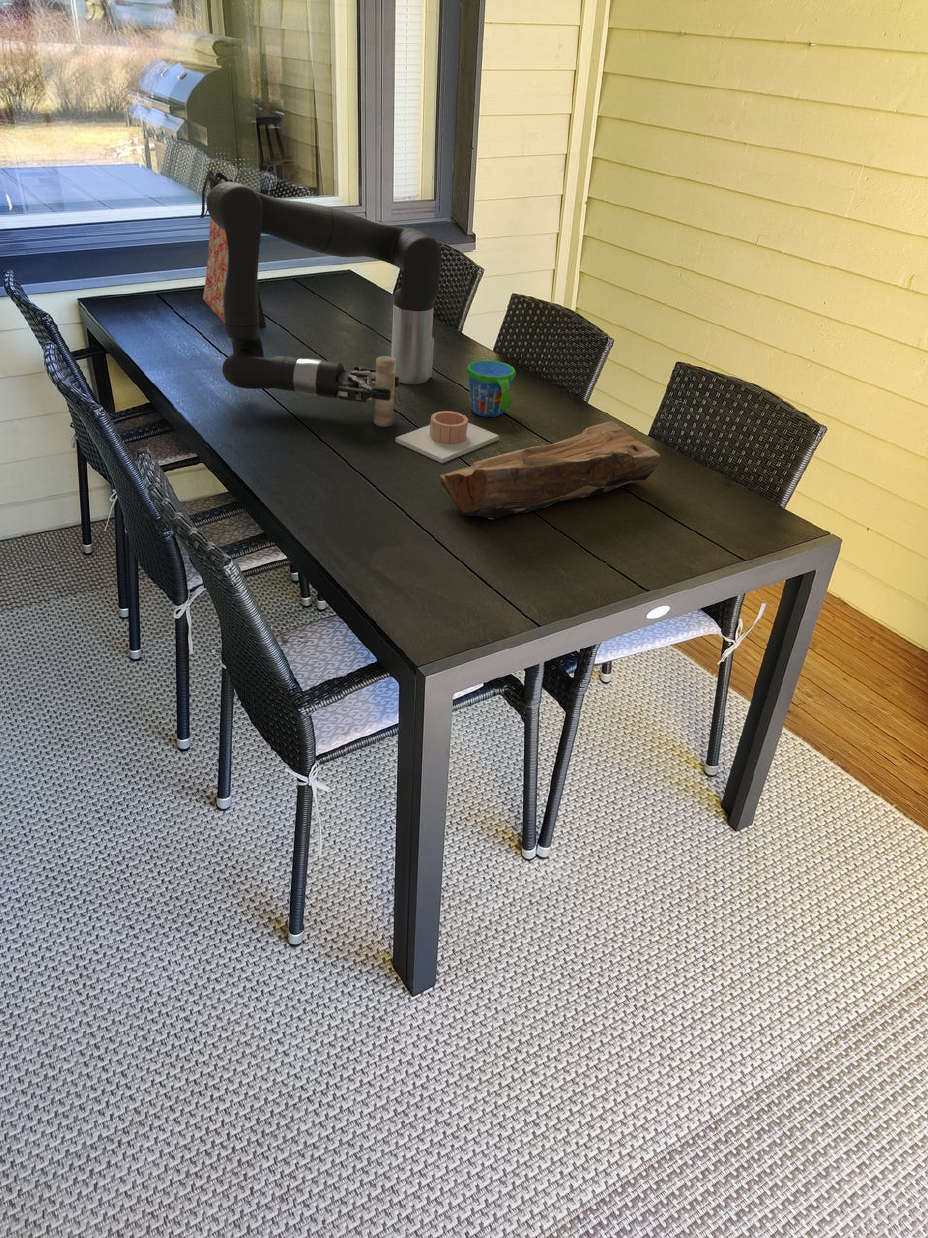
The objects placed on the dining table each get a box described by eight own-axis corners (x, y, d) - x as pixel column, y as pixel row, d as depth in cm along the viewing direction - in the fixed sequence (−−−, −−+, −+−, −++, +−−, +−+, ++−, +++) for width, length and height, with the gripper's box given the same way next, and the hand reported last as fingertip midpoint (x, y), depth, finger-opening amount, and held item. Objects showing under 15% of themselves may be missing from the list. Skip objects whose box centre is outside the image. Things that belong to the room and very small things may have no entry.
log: (469, 533, 172) (493, 457, 165) (422, 484, 184) (442, 410, 176) (642, 523, 196) (671, 456, 188) (591, 480, 207) (616, 415, 200)
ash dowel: (383, 417, 213) (385, 354, 205) (396, 423, 211) (399, 360, 203) (370, 422, 210) (372, 358, 203) (383, 428, 208) (386, 364, 201)
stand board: (452, 420, 215) (453, 416, 214) (498, 439, 208) (499, 435, 208) (395, 441, 203) (395, 437, 203) (442, 463, 197) (442, 458, 196)
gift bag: (192, 299, 269) (182, 161, 249) (243, 296, 275) (237, 161, 255) (222, 334, 248) (214, 186, 228) (276, 330, 254) (273, 185, 234)
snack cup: (453, 399, 225) (457, 356, 219) (495, 397, 228) (500, 354, 223) (477, 427, 213) (481, 382, 207) (521, 424, 217) (527, 379, 211)
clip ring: (446, 426, 210) (448, 408, 207) (473, 437, 206) (475, 419, 204) (422, 435, 205) (423, 417, 202) (449, 447, 201) (451, 429, 199)
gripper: (309, 372, 199) (388, 383, 198) (327, 349, 211) (402, 359, 210) (309, 407, 204) (386, 418, 202) (327, 383, 215) (400, 393, 214)
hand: (394, 388), depth 206 cm, fingers open, 7 cm apart
